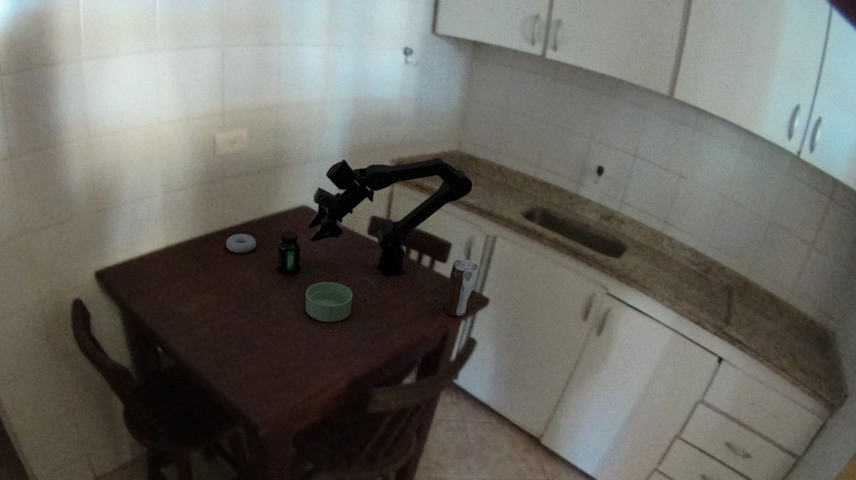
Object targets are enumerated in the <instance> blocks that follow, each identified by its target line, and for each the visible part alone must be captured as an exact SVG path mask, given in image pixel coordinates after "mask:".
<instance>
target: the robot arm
mask: <svg viewBox="0 0 856 480" xmlns="http://www.w3.org/2000/svg"><path fill="white" fill-rule="evenodd" d="M325 176H326V177H327V179H328V180H329V181H330V182H331V183H332V184H333V185H334V186H335V187H336V188H337V190H339V191H340V190H341V191H342V192H336V193H335V194H333V193H332V192H329V191H327V190H325V189H324V188H322V187H318V188H317V189H316V191H315V192H314V194H313V196H312V197H313V203H315V204H316V205H317V211H316V213H315V214H314V216H313V217H312V219H311V220H310V222H309V224H308V225H307V227H308V228H309V229H313V228H315V227H317V226H319V227H318V228H317V229H316V231H315V232H314V233H313V234H312V235H311V236H310V238H309V241H310V242H311V243H314V242H317V241H321V240H325V239H330V238H337V239H338V238H339V237H340V236H342V235H343V227H342V224H341V223H343V221H344V220H343V218H345V217H346V216H347V215H348V214H350V215H352V214H353V213H354V209H355V208H357V206H359V205H360V204H362V202H363V201H365V199H367V200H369V202H371V203H373V202H374V195H375V192H379V191H381V190H384V189H387V188H389V187H391V186H392V185H394V184H396V183H399V182H405V181H406V182H407V181H412V180H417V179H422V178H428V177H429V178H430V177H434V176H437V177H439V178H440V179H441V180H442V182H441V184H440V185H439V188H438V189H436V191H435V192H433V193H432V194H431V195H430V196H428V197H427V198H426V199H425V200H423V201H422V202H421V203H420V204H418V205H417V206H416V207H415V208H413V209H412V210H411V211H410V212H409V213H407V214H406V215H405V216H404V217H402V218H401V219H399V220H398V221H393V220H392V219H389V220H388V221H387V222H385V224H383V225H381V226H380V227H379V228H380V229H379V230H378V231H377V236H376V237H377V241H378V243H379V247H380V249H381V250H382V251H381V255H380V257H379V262H378V265H376V267H377V269H379V270H380V271H381V272H382V273H383V274H384V275H385V276H387V277H388V276H394V275H399V274H404V273H405V270H404V268H403V261H404V257H405V255H406V252H405V249H404V246H403V243H404V242H405V240H406V238H407V237H408V235H409V234H410V233H411V232H412V231H413V230H415V229H417V228H418V227H419V226H420V225H421V224H422V223H424V222H425V221H427V219H429V218H430V217H432V216H433V215H434V214H435V213H437V212H438V211H439V210H440V209H441V208H443V207H444V206H446V205H447V204H449V203H452V202H456V201H459V200H460V199H462V198H464V197H466V196H467V195H469V194H470V193H471V192H472V191H473V190H472V189H473V182H472V180H471V178H470V177H469V176H468V174H467V173H466V172H465V171H464V170H462V169H456V168H455V167H453V166H452V165H451V164H450V163H448V162H446V161H445V160H444V159H443V158H442V157H434V158H433V159H426V160H421V161H416V162H409V163H403V164H398V165H397V164H396V165H389V164H384V163H383V164H378V163H377V164H376V163H375V164H369V165H368V166H366V167H363V168H354V169H353V168H352V167H351V166H350V165H349V163H348V161H347V160H346V159H342V160H341V161H337V162H336V163H334V164H332V165H331V166H330V168H328V170H327V171H326V174H325Z"/></svg>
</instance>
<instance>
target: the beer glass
mask: <svg viewBox="0 0 856 480" xmlns="http://www.w3.org/2000/svg"><path fill="white" fill-rule="evenodd" d="M478 269H479V267H478V264H477V263H476V262H474V261H472V260H469V259H456V260H454V262H453V263H452V267H451V271H450V275H449V280H448V300H447V303H446V305H445V308H444V311H445V313H446V314H448V315H449V316H451V317H454V318H461V317H464V316H466V315H467V313H468V302H469V299H470V297H471V294H472V292H473V290H474V287H475V284H476V280H477V274H478Z"/></svg>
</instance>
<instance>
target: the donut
mask: <svg viewBox="0 0 856 480" xmlns="http://www.w3.org/2000/svg"><path fill="white" fill-rule="evenodd" d="M225 246H226V248H227V249H228V250H229V251H230V252H232V253H236V254H247V253H250V252H252V251H254V250H255V249H256V247H257V241H256V239H255V237H253V236H252V235H250V234H248V233H236V234H233V235H230V236H229V237H228V238H227V239H226V241H225Z"/></svg>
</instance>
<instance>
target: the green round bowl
mask: <svg viewBox="0 0 856 480" xmlns="http://www.w3.org/2000/svg"><path fill="white" fill-rule="evenodd" d="M353 296H354V294H353V292H352V290H351V289H350V288H349V287H348V286H346V285H345V284H341V283H339V282H334V281H333V282H332V281H322V282H317V283H314V284H311V285H310V286H309V287H308V288H307V289H306V291H305V300H304V302H305V303H304V304H305V305H304V309H305V312H306V313H307V315H308V316H309V317H312V318H313V319H315V320H317V321H321V322H324V323H325V322H326V323H327V322H328V323H334V322H339V321H343V320H344V319H346V318H348V317H349V316H350V315H351V313H352V310H353V309H352V307H353V299H354V298H353Z"/></svg>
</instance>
